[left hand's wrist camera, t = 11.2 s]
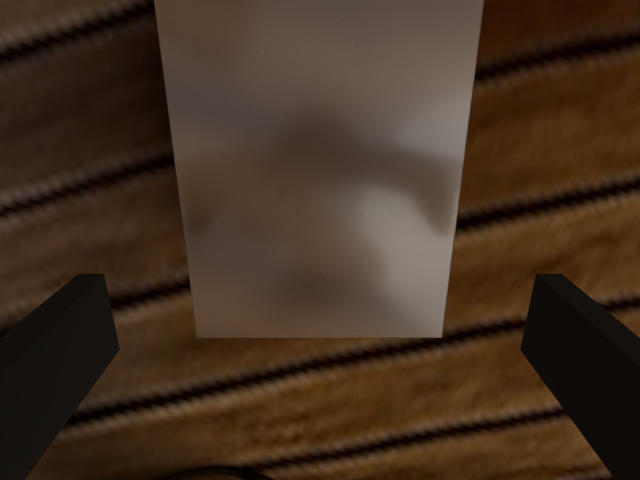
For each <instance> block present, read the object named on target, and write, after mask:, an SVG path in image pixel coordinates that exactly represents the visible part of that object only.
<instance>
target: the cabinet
mask: <svg viewBox="0 0 640 480" xmlns="http://www.w3.org/2000/svg"><path fill="white" fill-rule="evenodd" d="M154 5H155V13H156V21H157V29H158V36H159V44H160V52H161V60H162V68H163V75H164V83H165V91H166V99H167V107H168V114H169V122H170V130H171V138H172V145H173V153H174V161H175V169H176V177H177V184H178V192H179V200H180V208H181V216H182V223H183V231H184V239H185V247H186V255H187V262H188V270H189V278H190V286H191V294H192V301H193V309H194V317H195V325H196V333H197V338H442V333H443V325H444V317H445V309H446V301H447V293H448V285H449V277H450V269H451V261H452V253H453V245H454V237H455V229H456V221H457V213H458V205H459V197H460V189H461V181H462V173H463V165H464V157H465V149H466V141H467V133H468V125H469V117H470V109H471V101H472V93H473V85H474V77H475V69H476V61H477V53H478V45H479V37H480V29H481V21H482V13H483V5H484V0H154Z"/></svg>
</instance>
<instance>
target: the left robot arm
mask: <svg viewBox="0 0 640 480" xmlns="http://www.w3.org/2000/svg"><path fill="white" fill-rule="evenodd" d="M119 350H120V348H119V343H118V339H117V334H116V329H115V324H114V320H113V315H112V310H111V305H110V301H109V296H108V291H107V286H106V282H105V277H104V274H78V275H76V276H75V277H74V278H73V279H72V280H70V281H69V282H68V283H67V284H65V285H64V286H63V287H62V288H61V289H59V290H58V291H57V292H56V293H54V294H53V295H52V296H51V297H50V298H48V299H47V300H46V301H45V302H43V303H42V304H41V305H40V306H39V307H37V308H36V309H35V310H34V311H33V312H31V313H30V314H29V315H28V316H26V317H25V318H24V319H23V320H22V321H20V322H19V323H18V324H17V325H15V326H14V327H13V328H12V329H11V330H9V331H8V332H7V333H6V334H4V335H3V336H2V337H1V338H0V480H25V478H26V477H27V476H28V474H29V473H30V472H31V470H32V469H33V467H34V466H35V465H36V463H37V462H38V461H39V459H40V458H41V456H42V455H43V454H44V452H45V451H46V450H47V448H48V447H49V446H50V444H51V443H52V441H53V440H54V439H55V437H56V436H57V435H58V433H59V432H60V431H61V429H62V428H63V426H64V425H65V424H66V422H67V421H68V420H69V418H70V417H71V415H72V414H73V413H74V411H75V410H76V409H77V407H78V406H79V405H80V403H81V402H82V400H83V399H84V398H85V396H86V395H87V394H88V392H89V391H90V390H91V388H92V387H93V385H94V384H95V383H96V381H97V380H98V379H99V377H100V376H101V375H102V373H103V372H104V370H105V369H106V368H107V366H108V365H109V364H110V362H111V361H112V359H113V358H114V357H115V355H116V354H117V353H118V351H119ZM520 350H521V351H522V353H523V354H524V355H525V357H526V358H527V359H528V361H529V362H530V364H531V365H532V366H533V368H534V369H535V370H536V372H537V373H538V375H539V376H540V377H541V379H542V380H543V381H544V383H545V384H546V385H547V387H548V388H549V390H550V391H551V392H552V394H553V395H554V396H555V398H556V399H557V400H558V402H559V403H560V405H561V406H562V407H563V409H564V410H565V411H566V413H567V414H568V416H569V417H570V418H571V420H572V421H573V422H574V424H575V425H576V426H577V428H578V429H579V431H580V432H581V433H582V435H583V436H584V437H585V439H586V440H587V441H588V443H589V444H590V446H591V447H592V448H593V450H594V451H595V452H596V454H597V455H598V456H599V458H600V459H601V461H602V462H603V463H604V465H605V466H606V467H607V469H608V470H609V472H610V473H611V474H612V476H613V477H614V478H615V480H640V338H639V337H638V336H637V335H636V334H634V333H633V332H632V331H631V330H629V329H628V328H627V327H626V326H625V325H623V324H622V323H621V322H620V321H618V320H617V319H616V318H615V317H614V316H612V315H611V314H610V313H609V312H607V311H606V310H605V309H604V308H603V307H601V306H600V305H599V304H598V303H597V302H595V301H594V300H593V299H592V298H590V297H589V296H588V295H587V294H586V293H584V292H583V291H582V290H581V289H579V288H578V287H577V286H576V285H575V284H573V283H572V282H571V281H570V280H568V279H567V278H566V277H565V276H564V275H562V274H536V277H535V282H534V286H533V291H532V296H531V301H530V305H529V310H528V315H527V320H526V324H525V329H524V334H523V339H522V343H521V348H520ZM167 480H268V479H265V478H263V477H261V476H258V475H255V474H252V473H248V472H244V471H238V470H231V469H201V470H194V471H189V472H186V473H182V474H179V475H176V476H174V477H171V478H169V479H167Z"/></svg>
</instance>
